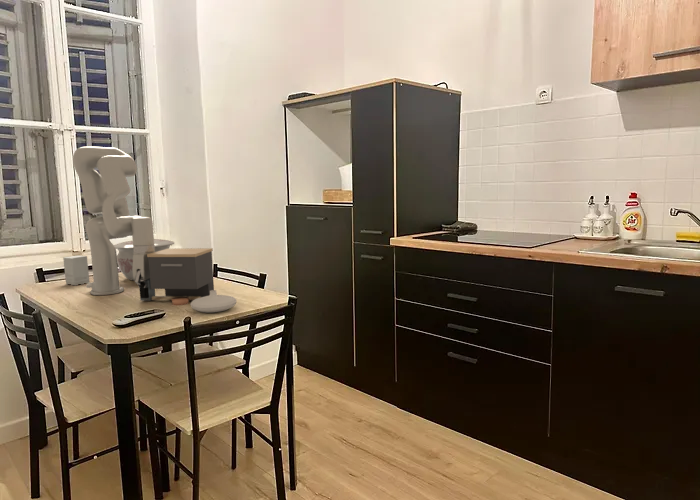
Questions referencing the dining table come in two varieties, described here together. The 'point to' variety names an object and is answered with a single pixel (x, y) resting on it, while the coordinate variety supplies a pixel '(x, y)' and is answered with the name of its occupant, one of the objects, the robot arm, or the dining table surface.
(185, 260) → the cabinet
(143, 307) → the dining table surface
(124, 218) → the robot arm
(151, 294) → the grey block with handle
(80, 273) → the supplement box
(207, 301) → the grey domed lid
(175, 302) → the coaster
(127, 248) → the chamber pot
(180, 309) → the dining table surface
